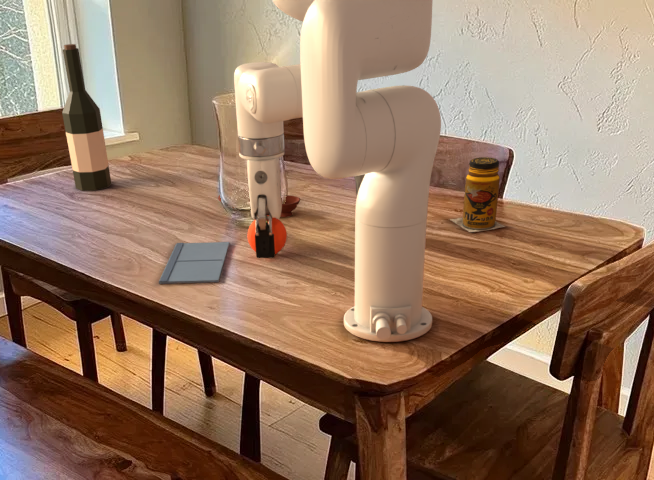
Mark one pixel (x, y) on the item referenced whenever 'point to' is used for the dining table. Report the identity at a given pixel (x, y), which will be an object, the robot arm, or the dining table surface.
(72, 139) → the wine bottle
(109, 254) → the dining table surface
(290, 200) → the pottery
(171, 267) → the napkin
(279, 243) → the clementine
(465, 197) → the condiment
